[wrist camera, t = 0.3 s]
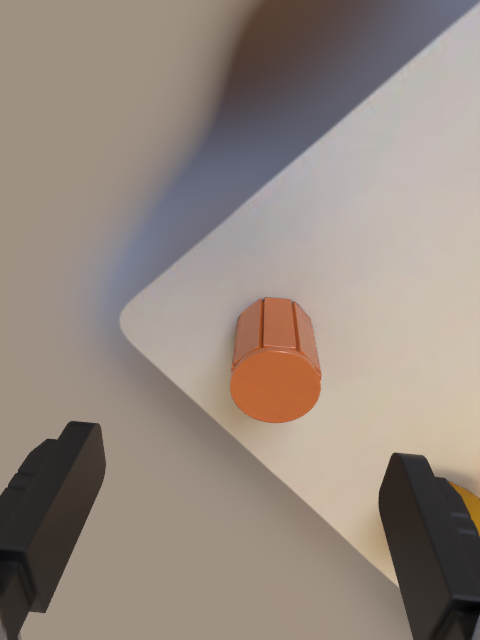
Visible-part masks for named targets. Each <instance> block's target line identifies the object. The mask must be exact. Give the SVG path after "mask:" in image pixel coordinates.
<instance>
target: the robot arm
mask: <svg viewBox="0 0 480 640" xmlns="http://www.w3.org/2000/svg"><path fill="white" fill-rule="evenodd" d="M105 467H106V460H105V453H104V446H103V439H102V431H101V426H100V424H98V423H88V422H77V421H70V422H69V423H68V424H67V425H66V427H65V429H64V430H63V432H62V434H61V435H60V436H59V438H58V440H55V439H46V440H45V441H44V442H43V443H41V444H40V445H39V446H38V447H37V448H35V449H34V450H33V451H31V452H30V453H29V455H28V456H27V458H26V459H25V461H24V462H23V464H22V465H21V466H20V468H19V469H18V473H16V474H15V475H14V477H13V478H12V479H11V481H10V482H9V484H8V487H7V488H5V490H4V491H3V493H2V494H1V495H0V640H21V634H20V630H21V627H22V625H23V623H24V621H25V619H26V617H27V615H28V613H29V611H30V612H39V613H46V610H47V608H48V606H49V603H50V601H51V599H52V597H53V594H54V592H55V590H56V588H57V585H58V583H59V581H60V578H61V576H62V574H63V572H64V569H65V567H66V565H67V563H68V560H69V558H70V556H71V554H72V551H73V549H74V547H75V544H76V542H77V540H78V537H79V535H80V533H81V531H82V529H83V526H84V524H85V522H86V519H87V517H88V515H89V513H90V510H91V508H92V506H93V504H94V501H95V499H96V497H97V494H98V492H99V490H100V488H101V485H102V482H103V479H104V475H105ZM379 511H380V516H381V520H382V523H383V527H384V531H385V535H386V538H387V542H388V546H389V550H390V553H391V557H392V561H393V565H394V568H395V572H396V576H397V580H398V583H399V587H400V591H401V594H402V598H403V602H404V605H405V609H406V613H407V617H408V621H409V624H410V628H411V632H412V636H413V639H414V640H480V536H479V531H478V529H477V527H476V525H475V523H474V521H473V520H471V515H470V513H469V511H468V509H467V507H466V505H465V503H464V501H463V499H462V496H461V495H460V494H459V493H458V492H457V491H456V490H455V489H454V487H453V486H452V485H451V484H450V483H449V482H448V481H447V480H446V479H445V478H439V477H435V476H434V474H433V472H432V470H431V467H430V465H429V463H428V461H427V459H426V457H424V456H423V455H415V454H404V453H393V454H392V456H391V458H390V461H389V464H388V467H387V470H386V473H385V476H384V479H383V482H382V484H381V487H380V491H379Z"/></svg>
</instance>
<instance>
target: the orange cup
mask: <svg viewBox="0 0 480 640" xmlns="http://www.w3.org/2000/svg"><path fill="white" fill-rule="evenodd" d="M321 376H322V374H321V369H320V364H319V359H318V353H317V348H316V343H315V337H314V332H313V327H312V323H311V319H310V318H309V317H308V316H307V315H306V313H305V312H304V311H303V310H302V309H301V308H300V307H299V305H298V304H297V303H296V302H293V303H291V300H290V299H279V298H267V297H265V298H264V302H263V301H262V299H259V300H258V301H257V302H255V303H254V304H253V305H251V306H250V307H249V308H247V309H246V310H245V311H243V312H242V313H241V317H239V319H238V326H237V333H236V340H235V347H234V354H233V361H232V369H231V381H230V391H231V395H232V398H233V400H234V402H235V403H236V405H237V406H238V407H239V408H240V409H241V410H242V411H243V412H244V413H245V414H247V415H248V416H250V417H252V418H254V419H257V420H260V421H264V422H270V423H282V422H288V421H292V420H295V419H297V418H299V417H301V416H303V415H305V414H306V413H307V412H309V411H310V410H311V409H312V408H313V406H314V405H315V404H316V402H317V400H318V398H319V395H320V390H321V383H320V381H321Z"/></svg>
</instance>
